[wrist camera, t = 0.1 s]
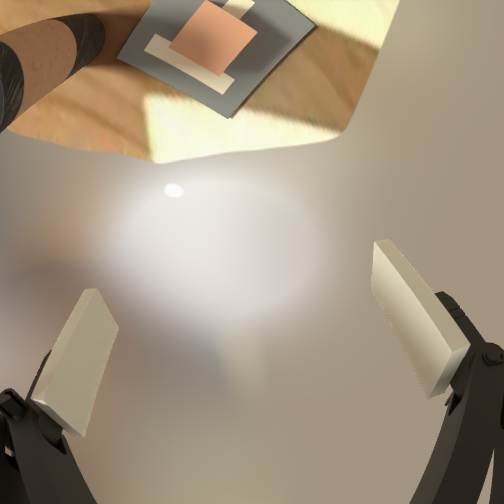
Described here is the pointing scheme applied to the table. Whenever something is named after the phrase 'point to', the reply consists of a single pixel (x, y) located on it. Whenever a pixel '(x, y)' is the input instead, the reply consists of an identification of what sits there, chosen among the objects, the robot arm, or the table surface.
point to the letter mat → (238, 71)
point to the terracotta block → (212, 38)
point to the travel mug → (44, 59)
